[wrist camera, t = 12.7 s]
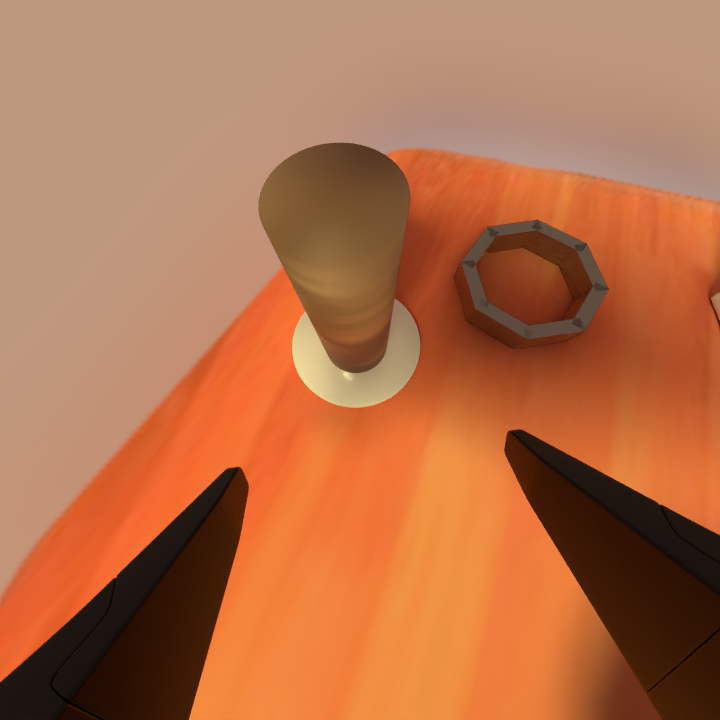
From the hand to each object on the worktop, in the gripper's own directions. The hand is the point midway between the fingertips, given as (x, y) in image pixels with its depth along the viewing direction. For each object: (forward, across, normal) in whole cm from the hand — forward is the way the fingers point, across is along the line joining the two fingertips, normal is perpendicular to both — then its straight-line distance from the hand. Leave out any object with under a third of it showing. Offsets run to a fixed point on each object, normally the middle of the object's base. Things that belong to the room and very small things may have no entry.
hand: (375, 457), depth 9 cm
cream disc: (+13, 0, +2) cm, 13 cm away
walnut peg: (+13, 0, +1) cm, 13 cm away
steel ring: (+15, -14, -1) cm, 21 cm away
